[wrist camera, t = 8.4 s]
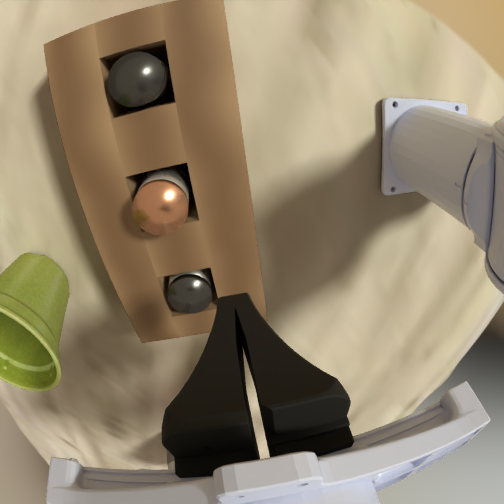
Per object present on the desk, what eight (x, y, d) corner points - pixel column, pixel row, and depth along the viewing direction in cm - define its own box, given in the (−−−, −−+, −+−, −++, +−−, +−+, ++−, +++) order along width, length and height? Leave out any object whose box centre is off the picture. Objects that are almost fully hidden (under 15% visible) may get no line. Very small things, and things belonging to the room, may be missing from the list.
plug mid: (184, 159, 18) (181, 177, 15) (193, 203, 20) (193, 229, 17) (137, 170, 18) (125, 190, 15) (149, 213, 19) (141, 239, 16)
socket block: (217, 9, 15) (222, -7, 11) (258, 288, 27) (267, 320, 23) (69, 48, 14) (43, 44, 11) (146, 309, 26) (141, 342, 22)
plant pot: (53, 332, 26) (30, 402, 18) (-13, 271, 21) (-54, 334, 14) (107, 290, 24) (85, 370, 17) (30, 212, 19) (-26, 276, 12)
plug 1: (166, 51, 15) (159, 45, 12) (173, 96, 17) (168, 99, 14) (119, 64, 15) (103, 61, 12) (127, 107, 17) (113, 113, 14)
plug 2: (205, 246, 23) (207, 275, 20) (212, 279, 24) (216, 309, 21) (165, 254, 22) (162, 283, 19) (176, 286, 24) (174, 316, 21)
